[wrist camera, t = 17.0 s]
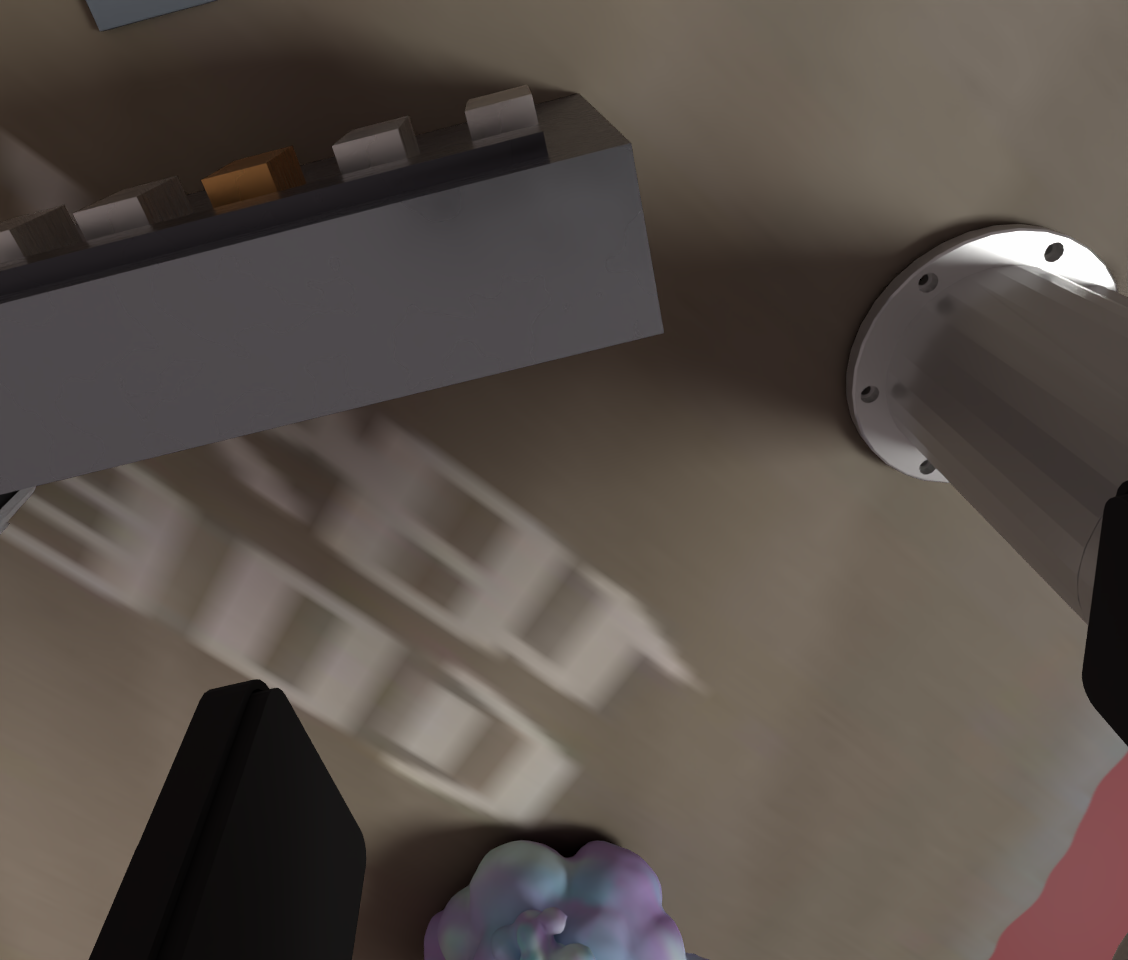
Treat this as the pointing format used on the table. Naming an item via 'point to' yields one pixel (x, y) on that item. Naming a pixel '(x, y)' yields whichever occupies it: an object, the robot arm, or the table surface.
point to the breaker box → (317, 284)
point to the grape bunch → (557, 909)
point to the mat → (134, 10)
